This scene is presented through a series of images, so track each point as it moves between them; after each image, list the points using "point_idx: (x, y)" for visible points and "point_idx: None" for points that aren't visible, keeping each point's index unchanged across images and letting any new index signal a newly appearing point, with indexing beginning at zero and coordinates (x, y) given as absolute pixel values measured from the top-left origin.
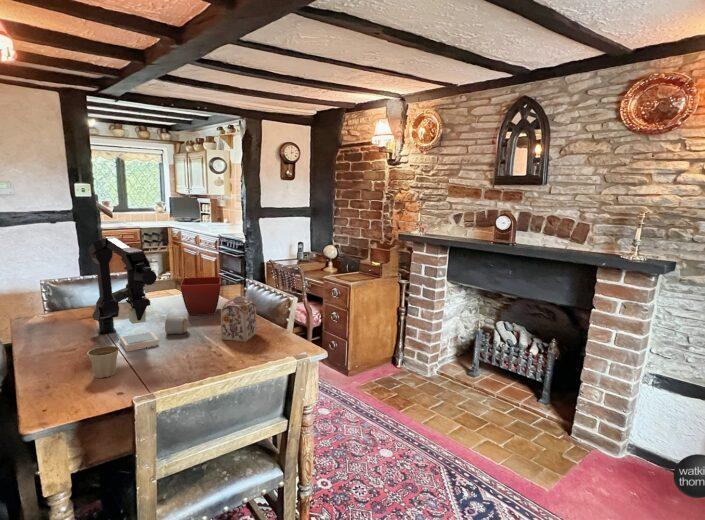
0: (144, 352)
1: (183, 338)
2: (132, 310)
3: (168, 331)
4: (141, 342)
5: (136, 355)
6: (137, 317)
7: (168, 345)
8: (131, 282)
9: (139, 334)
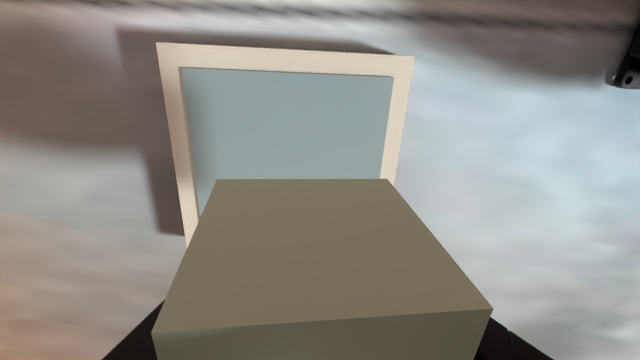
0: (97, 143)
1: None
2: (286, 357)
3: None
4: (178, 162)
5: (51, 84)
6: (164, 300)
7: (168, 275)
8: None
9: None
